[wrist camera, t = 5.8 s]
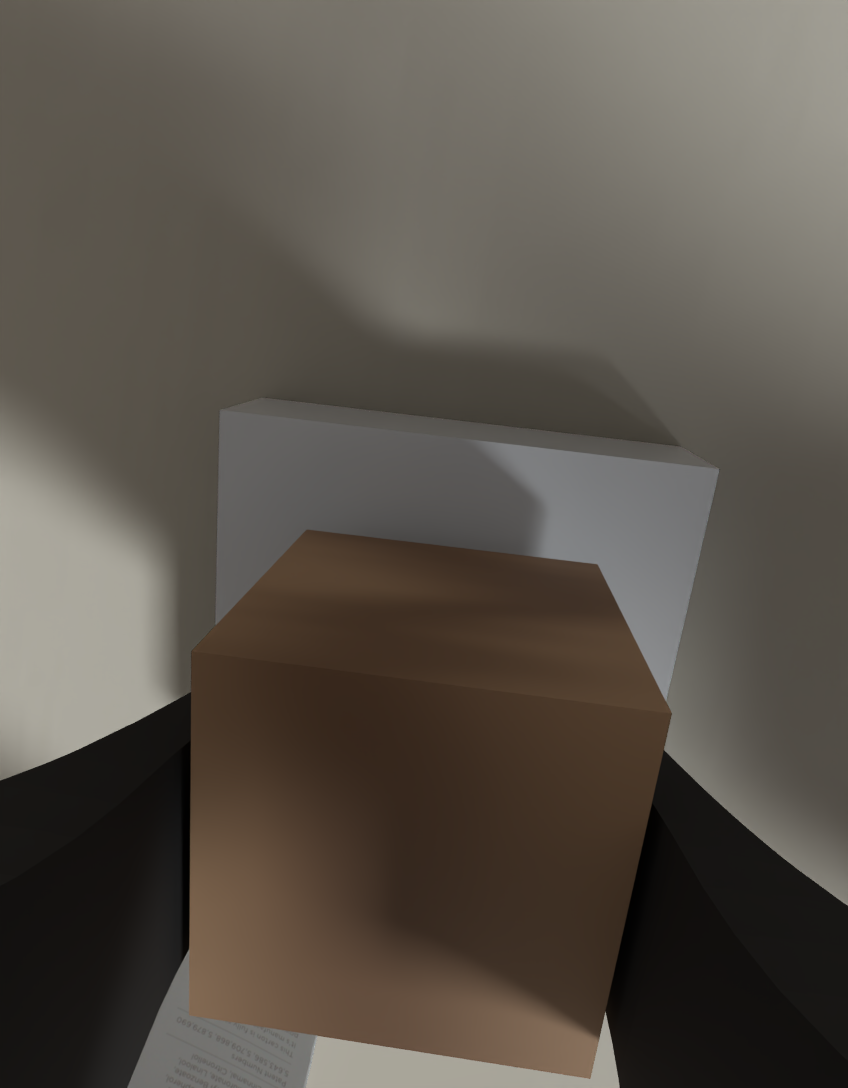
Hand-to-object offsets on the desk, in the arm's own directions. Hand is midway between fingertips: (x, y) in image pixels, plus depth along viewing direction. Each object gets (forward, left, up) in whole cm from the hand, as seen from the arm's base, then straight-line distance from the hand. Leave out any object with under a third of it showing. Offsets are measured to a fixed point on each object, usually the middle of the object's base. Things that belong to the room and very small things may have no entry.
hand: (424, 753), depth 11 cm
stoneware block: (0, 0, -6) cm, 6 cm away
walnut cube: (0, 0, -2) cm, 2 cm away
